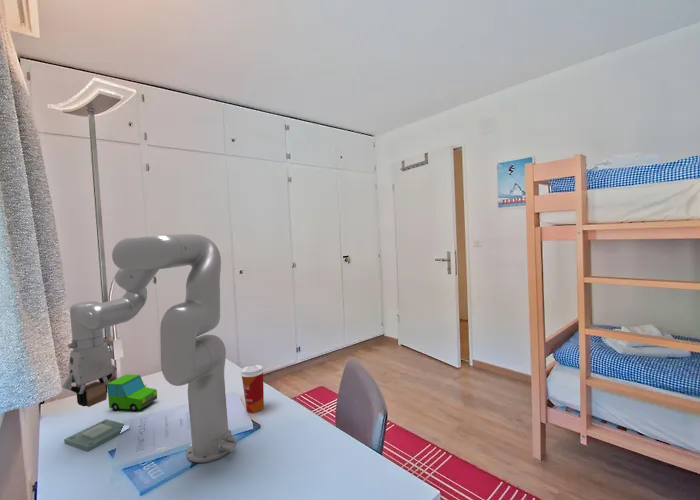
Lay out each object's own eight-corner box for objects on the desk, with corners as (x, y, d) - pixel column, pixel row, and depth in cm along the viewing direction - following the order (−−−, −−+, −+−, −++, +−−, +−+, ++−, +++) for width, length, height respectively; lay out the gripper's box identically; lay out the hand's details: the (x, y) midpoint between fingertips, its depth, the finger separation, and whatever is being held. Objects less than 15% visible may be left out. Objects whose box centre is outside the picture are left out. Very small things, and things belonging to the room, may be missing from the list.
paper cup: (243, 406, 121) (240, 366, 120) (265, 401, 123) (262, 362, 122) (243, 417, 113) (240, 374, 113) (267, 411, 116) (264, 370, 115)
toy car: (139, 414, 120) (136, 386, 119) (107, 412, 122) (104, 385, 122) (160, 400, 130) (158, 373, 129) (130, 399, 132) (128, 373, 132)
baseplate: (129, 428, 110) (129, 423, 110) (88, 451, 99) (87, 445, 99) (106, 422, 115) (105, 417, 115) (64, 443, 104) (63, 437, 104)
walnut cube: (106, 399, 108) (105, 383, 108) (89, 406, 104) (87, 390, 103) (96, 396, 110) (95, 381, 110) (79, 404, 106) (77, 388, 106)
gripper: (62, 353, 97) (68, 416, 98) (124, 335, 112) (128, 390, 113) (48, 350, 100) (53, 412, 101) (109, 333, 115) (114, 387, 116)
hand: (93, 400), depth 107 cm, fingers closed on walnut cube, 5 cm apart
